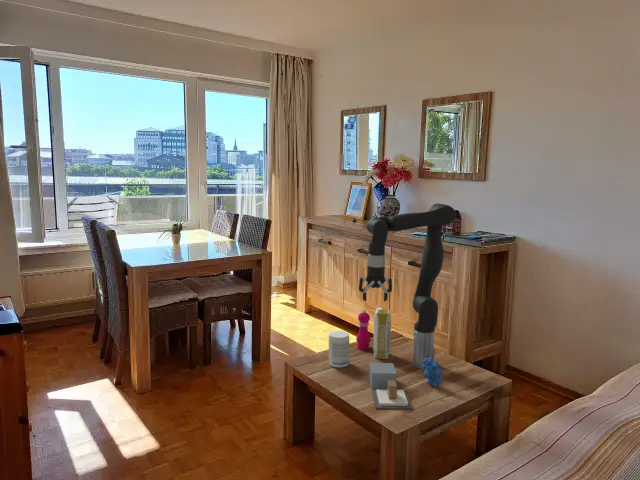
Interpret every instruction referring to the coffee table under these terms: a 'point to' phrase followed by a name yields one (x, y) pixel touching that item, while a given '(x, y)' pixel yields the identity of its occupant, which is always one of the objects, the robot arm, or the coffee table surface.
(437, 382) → the grapes
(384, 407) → the rubber mat
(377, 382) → the storage box
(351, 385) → the coffee table surface
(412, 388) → the coffee table surface
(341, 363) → the supplement tub
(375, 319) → the juice carton
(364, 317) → the pepper mill
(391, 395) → the lid
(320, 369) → the coffee table surface
